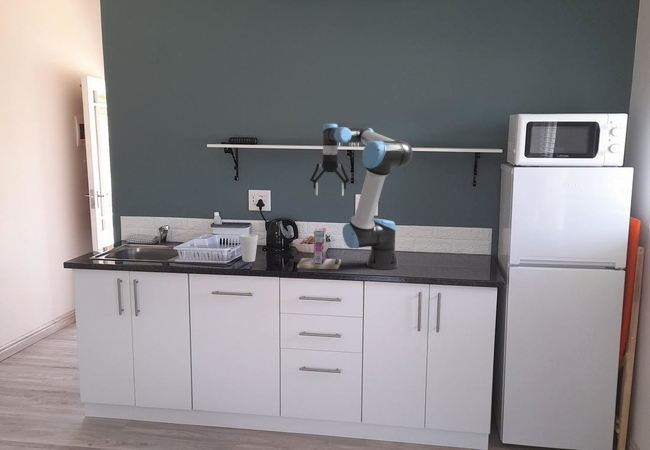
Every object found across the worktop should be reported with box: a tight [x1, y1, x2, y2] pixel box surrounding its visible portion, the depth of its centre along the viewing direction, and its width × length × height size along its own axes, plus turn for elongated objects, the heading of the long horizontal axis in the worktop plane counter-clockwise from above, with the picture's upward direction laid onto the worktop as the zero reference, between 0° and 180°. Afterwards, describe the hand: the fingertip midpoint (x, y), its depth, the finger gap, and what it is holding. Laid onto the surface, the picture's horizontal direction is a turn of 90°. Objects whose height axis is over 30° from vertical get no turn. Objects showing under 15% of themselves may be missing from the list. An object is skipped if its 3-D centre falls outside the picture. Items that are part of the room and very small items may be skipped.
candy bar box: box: [313, 227, 327, 264], centre depth 268 cm, size 11×5×16 cm, turn 174°
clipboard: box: [296, 257, 342, 270], centre depth 269 cm, size 20×17×2 cm
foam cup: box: [238, 233, 259, 263], centre depth 277 cm, size 10×9×13 cm
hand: (329, 195), depth 283 cm, fingers open, 13 cm apart
